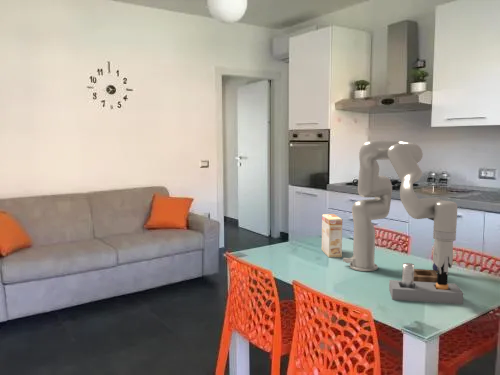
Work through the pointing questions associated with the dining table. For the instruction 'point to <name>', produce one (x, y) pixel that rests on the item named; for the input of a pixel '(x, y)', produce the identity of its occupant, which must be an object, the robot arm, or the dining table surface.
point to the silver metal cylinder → (408, 275)
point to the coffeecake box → (332, 235)
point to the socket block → (426, 292)
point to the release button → (441, 286)
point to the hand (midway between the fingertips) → (442, 283)
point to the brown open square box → (425, 275)
